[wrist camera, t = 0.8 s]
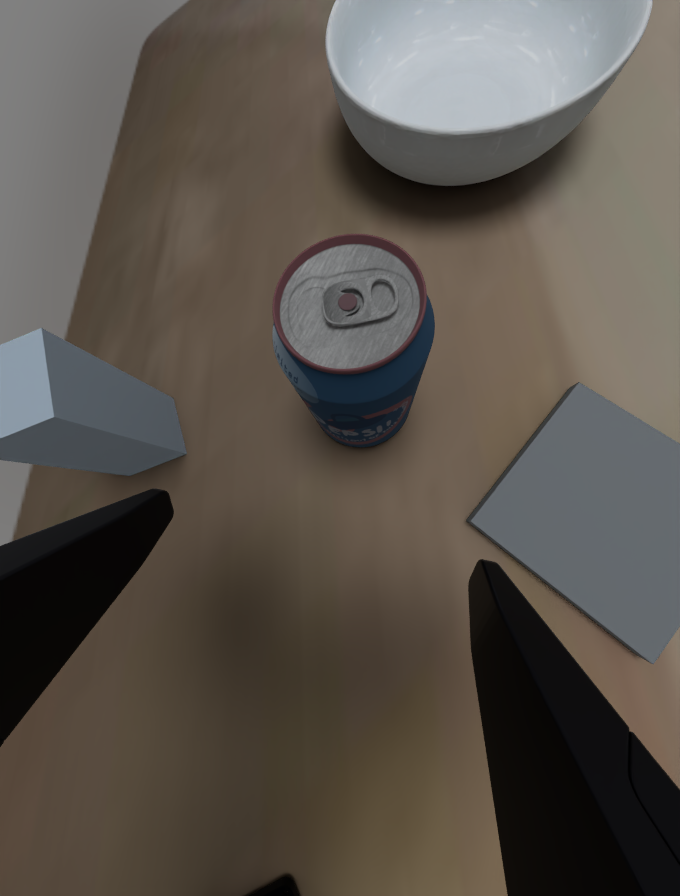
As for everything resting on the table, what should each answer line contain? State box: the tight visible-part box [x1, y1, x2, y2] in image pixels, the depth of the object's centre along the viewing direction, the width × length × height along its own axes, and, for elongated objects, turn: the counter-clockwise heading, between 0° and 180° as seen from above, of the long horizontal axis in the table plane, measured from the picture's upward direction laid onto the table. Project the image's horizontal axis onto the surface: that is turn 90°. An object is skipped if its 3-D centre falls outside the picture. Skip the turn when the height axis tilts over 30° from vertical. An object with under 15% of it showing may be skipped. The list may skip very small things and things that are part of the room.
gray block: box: [0, 328, 187, 476], centre depth 19 cm, size 5×5×10 cm
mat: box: [466, 382, 680, 664], centre depth 19 cm, size 12×12×1 cm
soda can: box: [273, 234, 435, 447], centre depth 17 cm, size 7×7×12 cm
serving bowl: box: [326, 0, 653, 186], centre depth 23 cm, size 21×21×7 cm
